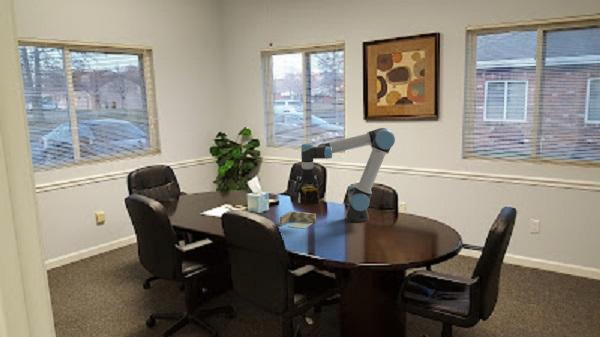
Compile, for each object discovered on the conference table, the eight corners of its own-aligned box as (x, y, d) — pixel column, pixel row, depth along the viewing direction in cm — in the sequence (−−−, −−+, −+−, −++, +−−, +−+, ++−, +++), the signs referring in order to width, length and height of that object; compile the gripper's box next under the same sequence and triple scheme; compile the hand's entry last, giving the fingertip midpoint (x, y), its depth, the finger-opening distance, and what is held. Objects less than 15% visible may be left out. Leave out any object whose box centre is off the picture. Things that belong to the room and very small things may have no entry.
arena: (316, 222, 302) (315, 213, 301) (306, 228, 289) (305, 219, 288) (291, 219, 311) (290, 211, 310) (280, 225, 298) (279, 217, 297)
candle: (305, 206, 285) (304, 190, 283) (297, 202, 294) (297, 187, 292) (318, 203, 290) (318, 188, 288) (311, 200, 298) (310, 185, 297)
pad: (312, 223, 300) (312, 223, 300) (304, 228, 290) (304, 228, 290) (296, 221, 306) (296, 221, 305) (288, 226, 295) (288, 226, 295)
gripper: (323, 166, 294) (323, 198, 298) (288, 168, 289) (289, 201, 292) (326, 167, 287) (327, 201, 291) (290, 170, 281) (291, 204, 285)
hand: (308, 201), depth 292 cm, fingers closed on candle, 11 cm apart
